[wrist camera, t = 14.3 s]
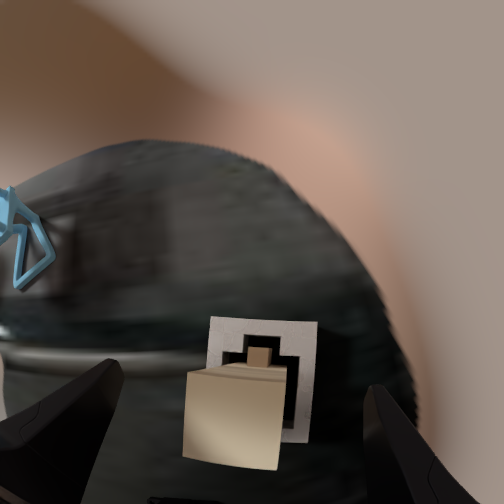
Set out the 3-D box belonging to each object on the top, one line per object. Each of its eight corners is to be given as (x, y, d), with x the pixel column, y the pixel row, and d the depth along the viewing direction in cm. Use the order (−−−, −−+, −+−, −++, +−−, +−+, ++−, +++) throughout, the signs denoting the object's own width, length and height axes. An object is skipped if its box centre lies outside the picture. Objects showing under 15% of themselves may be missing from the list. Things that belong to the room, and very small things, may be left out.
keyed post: (282, 410, 18) (276, 470, 8) (235, 406, 18) (182, 456, 8) (288, 349, 20) (288, 349, 9) (240, 346, 20) (190, 340, 10)
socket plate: (305, 432, 17) (307, 442, 15) (211, 424, 18) (201, 432, 16) (313, 325, 20) (317, 322, 18) (219, 320, 21) (211, 316, 18)
